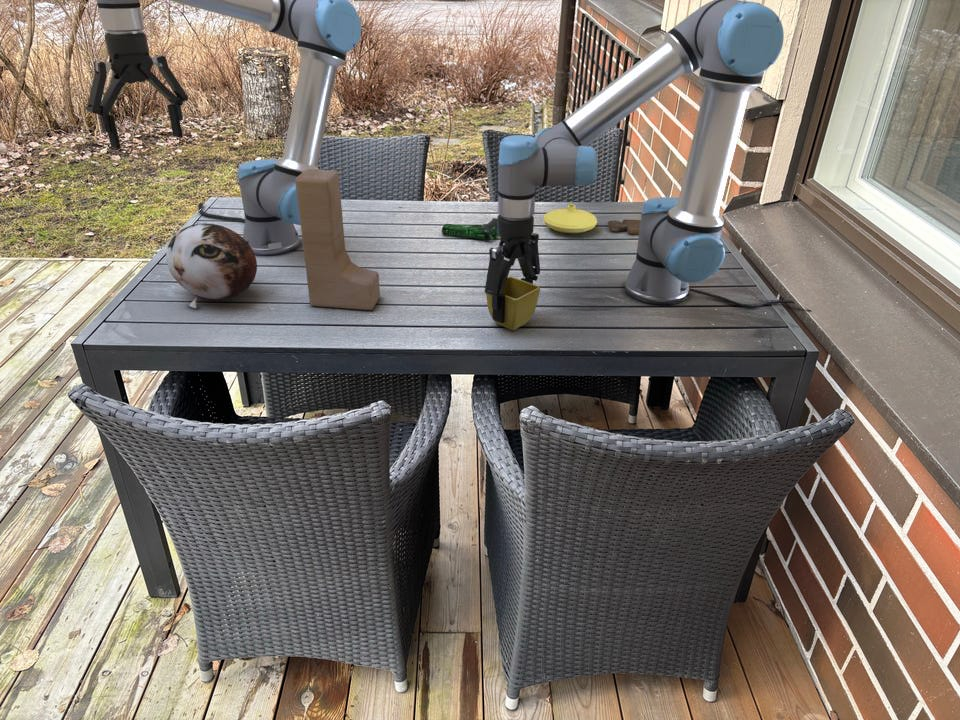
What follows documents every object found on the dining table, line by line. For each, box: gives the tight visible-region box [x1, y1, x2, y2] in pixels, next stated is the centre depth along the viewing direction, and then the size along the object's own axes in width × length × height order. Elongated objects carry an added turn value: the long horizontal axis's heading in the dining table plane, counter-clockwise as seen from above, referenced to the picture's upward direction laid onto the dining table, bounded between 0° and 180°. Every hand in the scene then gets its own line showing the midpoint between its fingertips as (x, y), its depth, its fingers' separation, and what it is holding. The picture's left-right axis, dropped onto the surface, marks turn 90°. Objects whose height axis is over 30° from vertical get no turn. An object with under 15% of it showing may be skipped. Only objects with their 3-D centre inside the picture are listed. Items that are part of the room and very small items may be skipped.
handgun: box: [441, 217, 500, 242], centre depth 207 cm, size 16×3×15 cm
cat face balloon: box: [165, 222, 258, 309], centre depth 165 cm, size 22×18×20 cm
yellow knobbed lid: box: [543, 203, 598, 234], centre depth 209 cm, size 16×16×7 cm
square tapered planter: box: [485, 275, 541, 331], centre depth 157 cm, size 9×9×9 cm
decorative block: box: [295, 169, 381, 311], centre depth 159 cm, size 8×15×30 cm, turn 82°
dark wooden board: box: [607, 219, 641, 235], centre depth 211 cm, size 26×2×10 cm
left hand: (148, 142), depth 150 cm, fingers open, 13 cm apart
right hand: (512, 313), depth 158 cm, fingers closed on square tapered planter, 9 cm apart
